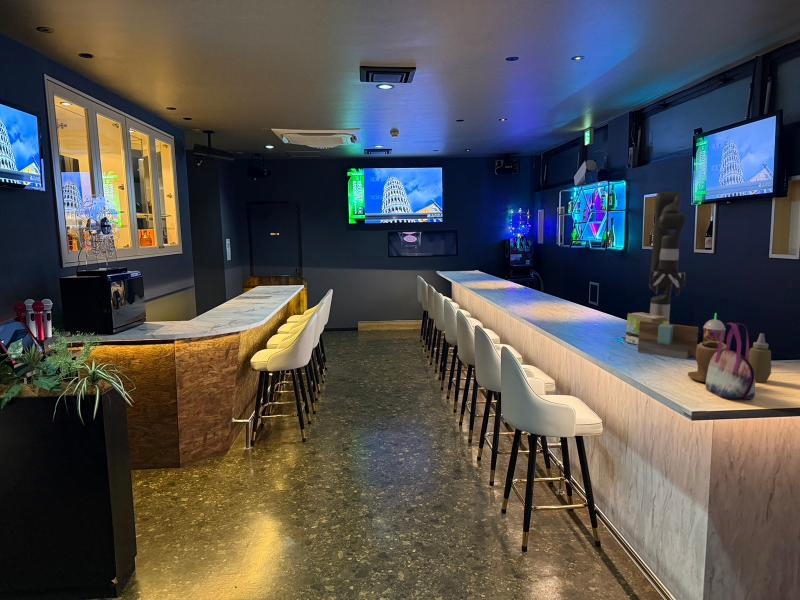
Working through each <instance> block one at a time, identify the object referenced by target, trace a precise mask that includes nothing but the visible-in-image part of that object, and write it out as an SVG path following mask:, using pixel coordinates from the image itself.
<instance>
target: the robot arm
mask: <svg viewBox="0 0 800 600" xmlns="http://www.w3.org/2000/svg"><path fill="white" fill-rule="evenodd" d="M681 204H682V196H681V194H680V193H679V192H677V191H661V192H658V193H656V196H655V202H654V226H653V227H654V229H653V237H652V248H651V249H652V253H651V254H652V255H651V266H650V272H649V278H648V279H649V281H648V287H649V289H650V290H651V291H653V292H652V293H654V295H656V296H652V297H651V298H650V307H649V314H653V315H658V316H663V317H667V320H666V322H670V312H671V296H672V288H673V284H674V285H675V292H674V293H675V296H676V297H678V296H679V295H680V293H681V288H682V287H684V286H686V272H685V271H684V272H678V270H679V269H678V266H679V255H680V252H679V249H680V239H681V234H682V232H683V229H684V227H685V225H686V221H687V220H686V219H687V217H686V216H685V214H684V213H680V210H681V209H680V208H681V206H682V205H681ZM671 230H672V231H673V230H675V231H674V232H672V231H671ZM678 276H679V278H680V281H681V282H680V283H679V281H678V280H677V277H678ZM658 291H660V292H661V291H662V292H663V293H661V294H659V295H658Z"/></svg>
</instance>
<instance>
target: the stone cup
mask: <svg viewBox="0 0 800 600" xmlns="http://www.w3.org/2000/svg"><path fill="white" fill-rule="evenodd" d="M718 345H719V342H717V341H707V342H703V341H702V342H699V344H698V343H697V349H696V357H695V360H696V364H697V365H696V366H697V371H689V372H687V377H689V378H690V379H692V380H695V381H697V382H702V383H703V382H704V383H706V377H707V372H708V367H709V363H710V360H711V358H712V356H713V355H714V354H715V353H716V352H717V351H718ZM721 350H726V344H725V343H724V342H723V343H721Z"/></svg>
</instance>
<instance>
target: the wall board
mask: <svg viewBox="0 0 800 600" xmlns="http://www.w3.org/2000/svg"><path fill="white" fill-rule="evenodd" d="M661 324H663V323H655V322H646V321H640V326H639V339H638V345H637V353H641V354H648V355H654V356H661V357H667V358H668V357H670V358H674V359H675V358H676V359H682V360H687V359H688V358H690V357H693V358H694V357H695V358H696V349H697V346H698V339H699V327H698V326H689V325H681V324H672V323H669V325H673V326H674V327H673V339H672V345H670V344H663V343H657V339H658V326H659V325H661Z"/></svg>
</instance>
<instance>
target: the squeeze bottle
mask: <svg viewBox="0 0 800 600" xmlns="http://www.w3.org/2000/svg"><path fill="white" fill-rule="evenodd" d="M749 363H750V364H751V365H752V367H753V370H754V373H755V383H767V382H768V379H769V377H770V376H771V374H772V351H771V350H770V349H769V343H767V342H766V338H765V333H759V336H758V338H757V341H754V342H753V344H752V347H751V348H749Z"/></svg>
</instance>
